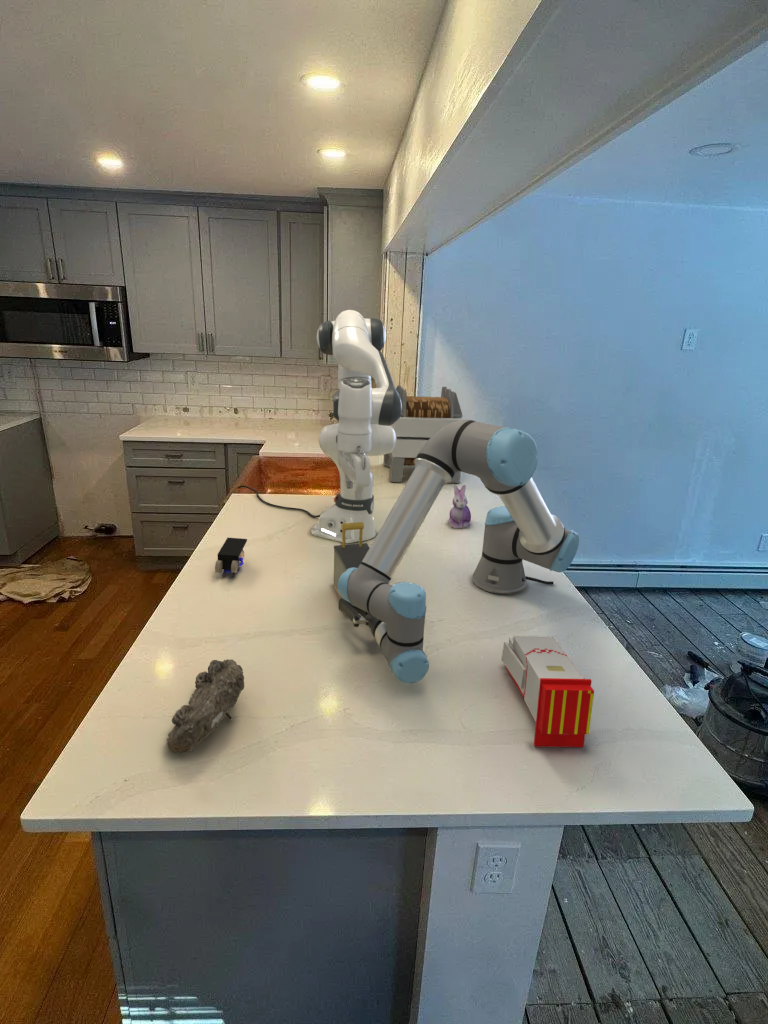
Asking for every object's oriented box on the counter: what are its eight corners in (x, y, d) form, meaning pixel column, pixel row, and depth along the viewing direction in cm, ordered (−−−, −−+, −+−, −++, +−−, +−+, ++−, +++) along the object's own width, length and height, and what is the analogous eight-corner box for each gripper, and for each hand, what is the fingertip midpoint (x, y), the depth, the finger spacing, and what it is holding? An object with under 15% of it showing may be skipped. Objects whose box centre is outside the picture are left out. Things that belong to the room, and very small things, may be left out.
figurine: (456, 530, 205) (460, 491, 199) (441, 521, 213) (444, 483, 208) (477, 527, 209) (481, 488, 204) (461, 518, 217) (465, 480, 212)
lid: (333, 548, 158) (333, 521, 155) (366, 545, 160) (367, 519, 158) (349, 577, 141) (350, 547, 139) (385, 573, 144) (387, 544, 141)
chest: (333, 585, 161) (334, 549, 157) (365, 582, 164) (367, 547, 160) (348, 616, 145) (349, 577, 141) (383, 612, 148) (385, 573, 144)
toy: (550, 619, 129) (603, 686, 100) (544, 673, 132) (595, 754, 102) (497, 618, 128) (535, 685, 99) (492, 672, 131) (528, 753, 102)
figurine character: (238, 584, 162) (249, 557, 175) (236, 562, 158) (247, 536, 172) (215, 584, 161) (227, 556, 175) (212, 561, 158) (225, 535, 171)
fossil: (192, 660, 117) (244, 628, 112) (224, 691, 120) (276, 661, 115) (142, 746, 98) (202, 712, 93) (182, 779, 101) (242, 748, 96)
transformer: (382, 463, 289) (386, 382, 275) (445, 464, 293) (451, 384, 279) (390, 482, 257) (394, 392, 243) (460, 483, 261) (468, 394, 247)
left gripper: (377, 451, 139) (375, 505, 143) (356, 434, 157) (355, 481, 162) (352, 452, 137) (351, 506, 141) (334, 434, 155) (333, 482, 160)
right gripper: (341, 652, 125) (321, 603, 145) (434, 639, 132) (403, 594, 152) (342, 622, 123) (321, 577, 143) (437, 611, 129) (404, 569, 149)
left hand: (353, 493), depth 152 cm, fingers open, 8 cm apart
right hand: (363, 586), depth 147 cm, fingers closed on chest, 9 cm apart
